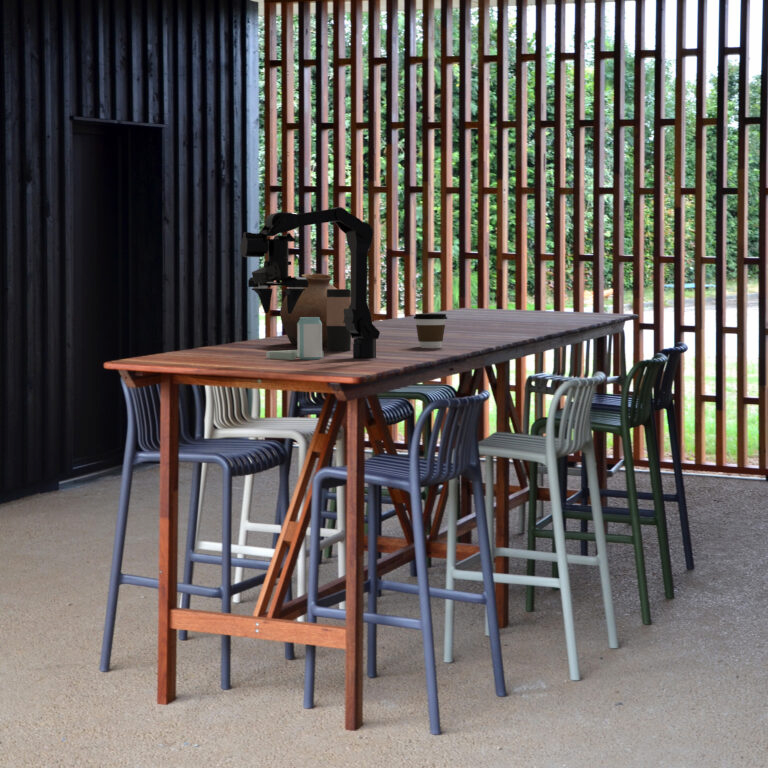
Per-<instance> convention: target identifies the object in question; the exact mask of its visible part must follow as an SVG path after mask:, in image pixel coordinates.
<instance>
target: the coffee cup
mask: <svg viewBox="0 0 768 768" xmlns="http://www.w3.org/2000/svg"><path fill="white" fill-rule="evenodd" d="M413 319H414V320H415V322H416V325H415V327H416V334H417V341H418V343H419V344H418V345H419V348H422V349H440V348H442V344H443V340H444V334H445V328H446V320H447V319H448V316H447V314H446V313H415V314H414V317H413Z"/></svg>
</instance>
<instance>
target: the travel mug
mask: <svg viewBox="0 0 768 768" xmlns="http://www.w3.org/2000/svg"><path fill="white" fill-rule="evenodd" d="M350 303H351V288H337V289H327V347H326V348H327V351H328V352H339V351H341V352H350V351H351V348H352V347H351V346H352V345H351V344H352V343H351V342H352V337H351V334H350V332H349V331H348V330H347V329H346V327H345V323H343V321H344V309H348V308H349V306H350Z"/></svg>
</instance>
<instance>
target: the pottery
mask: <svg viewBox="0 0 768 768" xmlns="http://www.w3.org/2000/svg"><path fill="white" fill-rule="evenodd" d="M301 277H306V278H307V280H308V287H303V289H305V291H303V292H302V293H301V295H300V297H299V299H298V301H297V303H296V305H295V307H294V309H293V311H292V313H291V314H288V310H287V295H286V296H285V297H284V299H283V301H282V303H281V306H280V310H279V311H280V312H279V315H280V320H281V323H282V326H283V328H284V331H285V334H286V337H287V338H288V340H289V342H290V343H291V344H292V345H293V346H296V345H297V346H296V347H298V341H297V323H298V321H299V320H300V317H319V318H320V321H321V323H322V348H323V347H324V348H327V289H338V288H336V286H334V285H332V284H331V283H330V282H331V280H332V279H333V276H331V275H329V274H324V273H311V274H310V273H304V274H301Z"/></svg>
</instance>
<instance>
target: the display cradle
mask: <svg viewBox="0 0 768 768" xmlns="http://www.w3.org/2000/svg"><path fill="white" fill-rule="evenodd" d="M265 353H266V354H265V355H266V358H265V359H270V360H273V359H274V360H290V361H291V360H292V361H294V360H296V358H298V349H291V350H290V349H288V350H270V351H269V350H268V351H266V352H265ZM324 355H325V354H324V350H322V357H321V358H320V359H324V357H325V356H324Z"/></svg>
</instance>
